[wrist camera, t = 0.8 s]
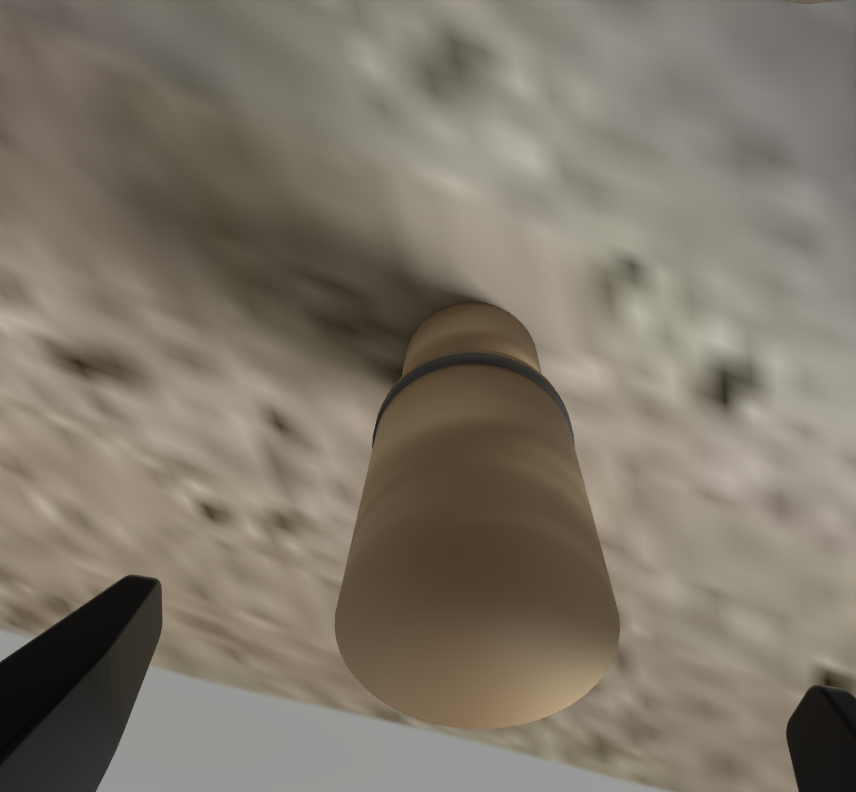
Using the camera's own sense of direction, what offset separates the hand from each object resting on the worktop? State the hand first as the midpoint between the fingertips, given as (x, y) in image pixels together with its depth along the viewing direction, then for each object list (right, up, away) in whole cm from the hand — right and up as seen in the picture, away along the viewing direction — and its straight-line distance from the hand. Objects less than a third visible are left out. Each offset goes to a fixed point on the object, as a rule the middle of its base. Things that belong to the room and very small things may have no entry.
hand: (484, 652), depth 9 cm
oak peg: (0, +4, +8) cm, 9 cm away
